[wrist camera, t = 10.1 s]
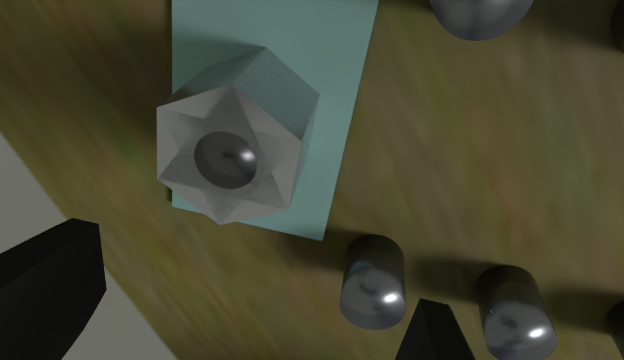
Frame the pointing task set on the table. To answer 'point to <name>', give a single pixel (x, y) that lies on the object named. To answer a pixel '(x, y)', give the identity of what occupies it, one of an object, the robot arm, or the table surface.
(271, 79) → the steel nut
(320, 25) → the mat
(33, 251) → the robot arm
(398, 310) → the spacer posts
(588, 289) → the table surface
